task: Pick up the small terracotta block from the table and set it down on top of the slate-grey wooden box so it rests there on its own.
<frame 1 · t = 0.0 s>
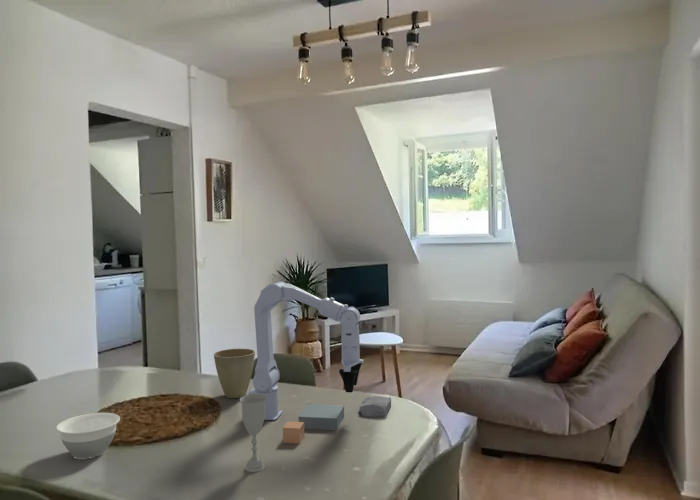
hand: (351, 388, 170), 10 cm above the table, tool pointing down, fingers open, 7 cm apart
terracotta block: (293, 440, 155), on the table
stone block: (374, 411, 179), on the table
slate box: (322, 423, 169), on the table
plant pot: (235, 395, 198), on the table
chalice: (254, 468, 137), on the table
bowl: (89, 453, 148), on the table
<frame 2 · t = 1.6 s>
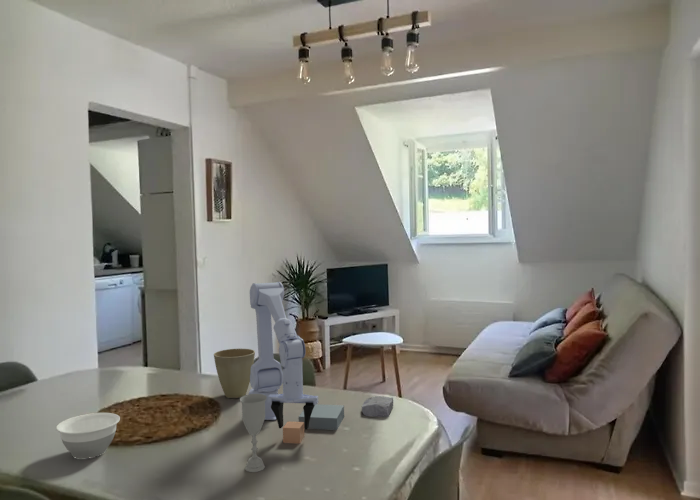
hand: (293, 427, 155), 4 cm above the table, tool pointing down, fingers open, 7 cm apart
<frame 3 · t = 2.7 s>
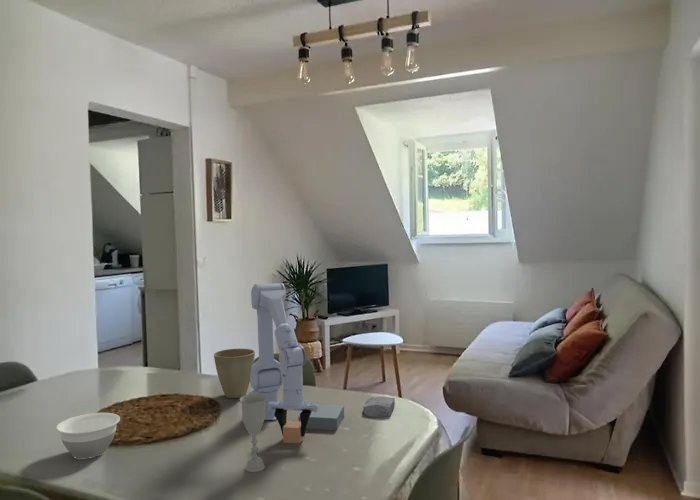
hand: (293, 434, 155), 1 cm above the table, tool pointing down, fingers closed on terracotta block, 5 cm apart
terracotta block: (293, 439, 155), on the table, touching gripper
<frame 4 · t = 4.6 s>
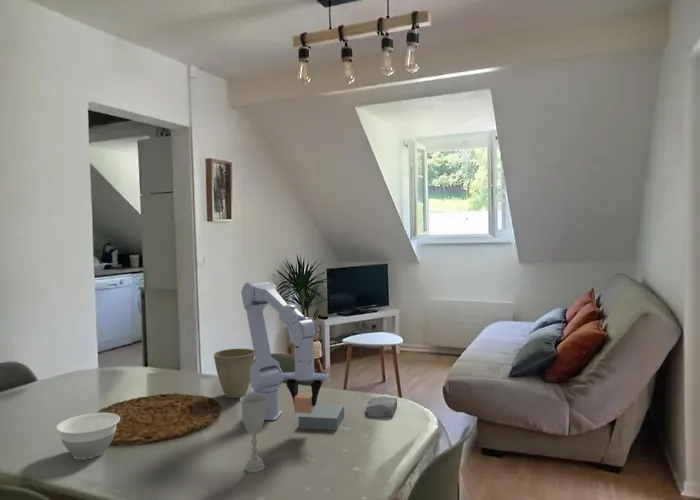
hand: (305, 404, 160), 8 cm above the table, tool pointing down, fingers closed on terracotta block, 5 cm apart
terracotta block: (305, 410, 160), point 7 cm above the table, touching gripper
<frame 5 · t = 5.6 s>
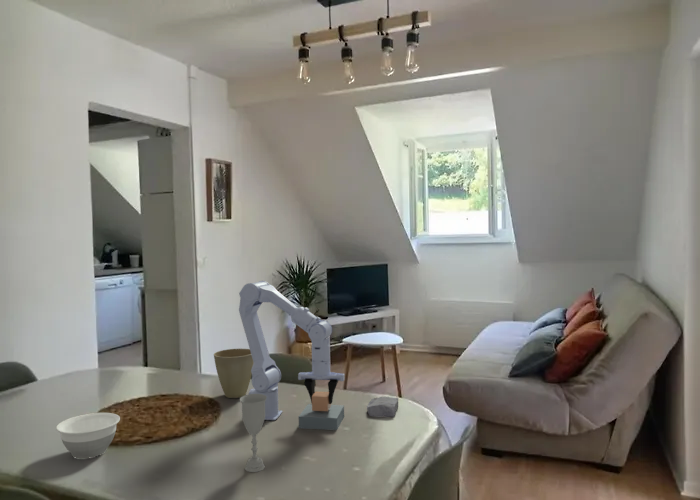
hand: (321, 402, 169), 6 cm above the table, tool pointing down, fingers closed on terracotta block, 5 cm apart
terracotta block: (321, 408, 168), point 5 cm above the table, touching gripper
when the fingers open (6 cm above the table, at t = 6.5 s): terracotta block stays where it is, resting on slate box.
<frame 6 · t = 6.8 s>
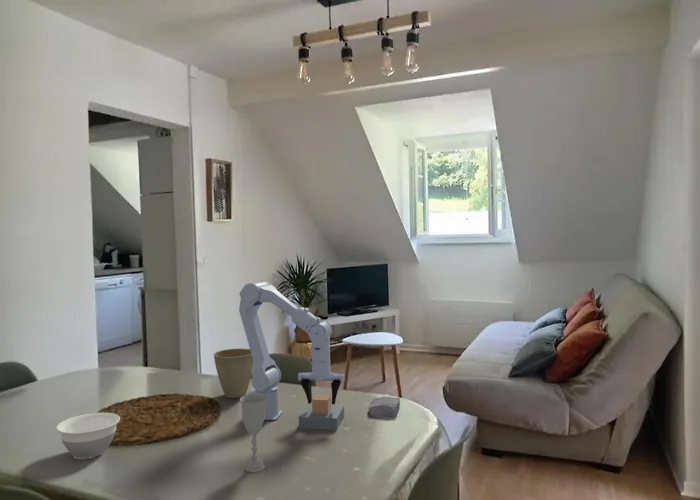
hand: (321, 403, 169), 6 cm above the table, tool pointing down, fingers open, 7 cm apart
terracotta block: (321, 411, 168), point 3 cm above the table, touching slate box
slate box: (322, 423, 169), on the table, touching terracotta block
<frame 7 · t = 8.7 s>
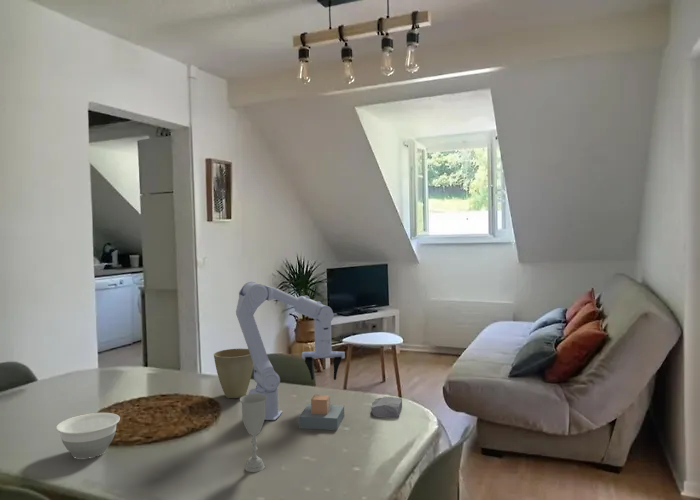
hand: (323, 379, 184), 9 cm above the table, tool pointing down, fingers open, 7 cm apart
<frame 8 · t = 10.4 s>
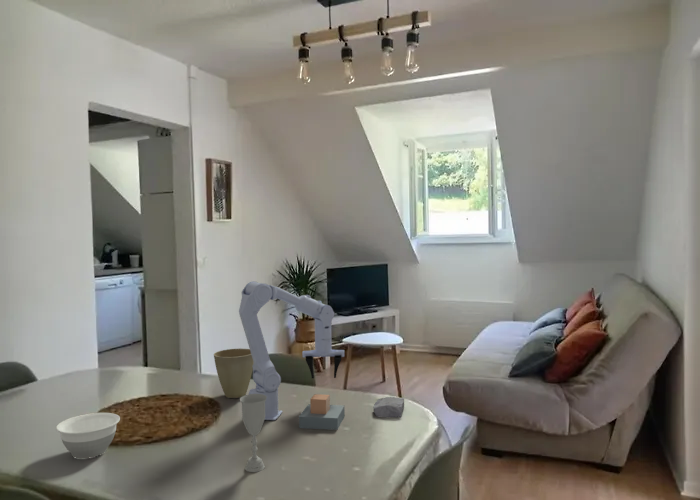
hand: (323, 377, 186), 9 cm above the table, tool pointing down, fingers open, 7 cm apart
terracotta block: (320, 411, 169), point 3 cm above the table
slate box: (322, 423, 169), on the table
at the end: terracotta block inside the target area on the slate box (0.7 cm from its centre), point 4.0 cm above the slate box's base; terracotta block tilted 0°; the gripper is holding nothing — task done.
